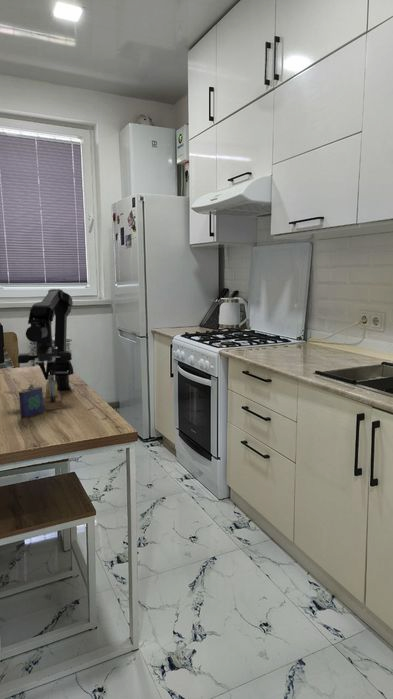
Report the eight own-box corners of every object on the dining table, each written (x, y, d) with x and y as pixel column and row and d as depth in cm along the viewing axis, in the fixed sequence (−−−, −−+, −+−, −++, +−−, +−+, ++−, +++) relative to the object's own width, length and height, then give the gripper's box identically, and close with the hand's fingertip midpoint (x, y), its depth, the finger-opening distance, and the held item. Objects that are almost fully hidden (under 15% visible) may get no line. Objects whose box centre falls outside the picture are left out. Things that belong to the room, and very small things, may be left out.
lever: (48, 392, 175) (46, 374, 174) (54, 391, 176) (53, 374, 175) (49, 402, 161) (48, 382, 160) (56, 401, 162) (55, 381, 161)
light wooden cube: (45, 393, 174) (45, 381, 173) (56, 393, 175) (56, 380, 174) (46, 397, 168) (45, 384, 168) (57, 396, 170) (57, 383, 169)
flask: (40, 410, 159) (38, 381, 157) (46, 412, 157) (44, 381, 156) (19, 418, 151) (16, 386, 149) (25, 419, 149) (23, 387, 148)
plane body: (43, 396, 178) (42, 384, 177) (59, 395, 180) (58, 383, 179) (44, 409, 160) (43, 395, 159) (62, 407, 162) (61, 394, 161)
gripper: (16, 342, 157) (19, 386, 159) (71, 339, 163) (73, 382, 166) (17, 338, 167) (19, 380, 170) (69, 336, 174) (71, 376, 176)
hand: (46, 379), depth 170 cm, fingers closed
